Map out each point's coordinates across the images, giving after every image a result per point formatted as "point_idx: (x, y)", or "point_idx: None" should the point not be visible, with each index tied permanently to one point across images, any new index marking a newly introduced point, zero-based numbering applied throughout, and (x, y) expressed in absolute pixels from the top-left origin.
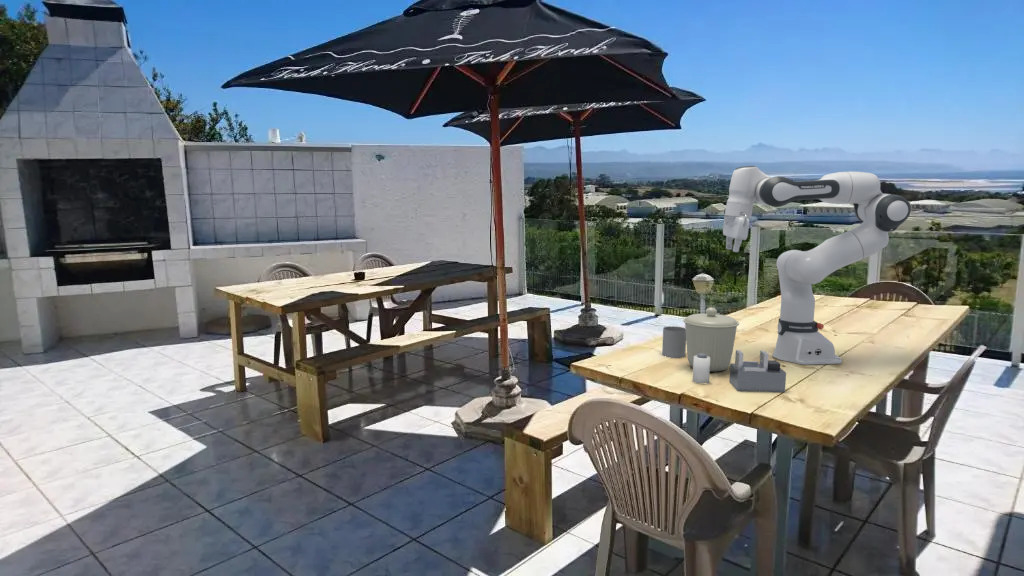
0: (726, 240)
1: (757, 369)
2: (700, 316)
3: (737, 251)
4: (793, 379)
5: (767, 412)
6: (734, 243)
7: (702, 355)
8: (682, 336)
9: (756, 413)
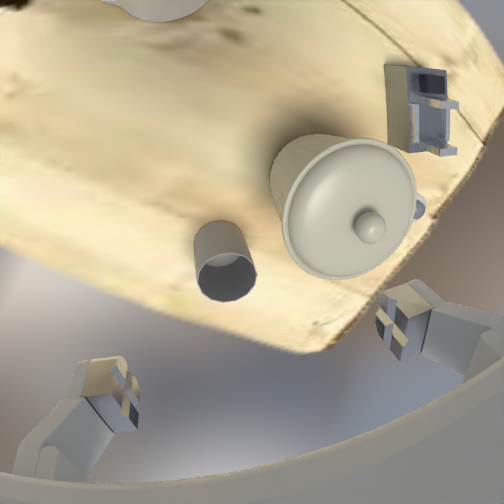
0: (83, 469)
1: (448, 118)
2: (367, 248)
3: (415, 288)
4: (355, 22)
5: (482, 123)
6: (454, 369)
7: (424, 210)
8: (246, 252)
9: (484, 137)
